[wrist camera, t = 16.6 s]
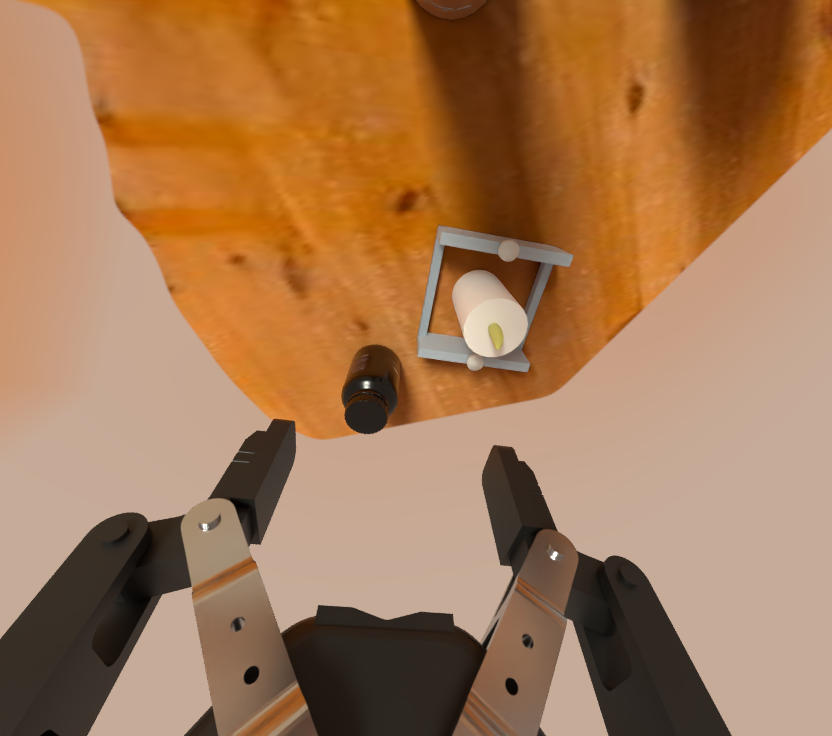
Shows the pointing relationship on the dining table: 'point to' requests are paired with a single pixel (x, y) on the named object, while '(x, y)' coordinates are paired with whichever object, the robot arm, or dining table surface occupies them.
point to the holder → (507, 251)
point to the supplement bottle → (371, 389)
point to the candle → (488, 314)
